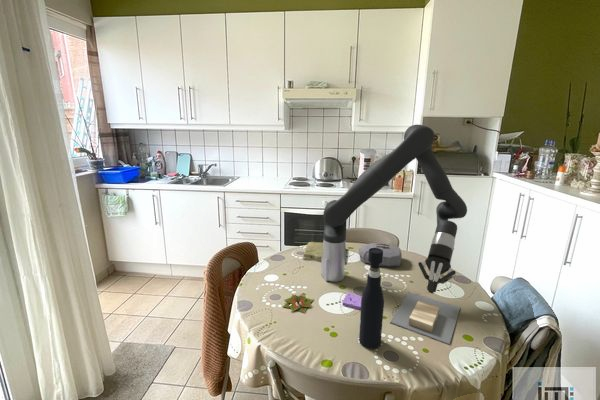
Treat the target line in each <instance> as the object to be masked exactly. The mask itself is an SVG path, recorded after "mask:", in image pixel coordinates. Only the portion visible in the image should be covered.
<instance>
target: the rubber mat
mask: <svg viewBox="0 0 600 400" xmlns="http://www.w3.org/2000/svg"><path fill="white" fill-rule="evenodd" d="M418 300H420V301H423V302H426V303H429V304H432V305H436V306H439V307H440V309H439V314H438V317H437V320H436V322H435V325H434V327H433V330H432V332H428V331H425V330H422V329H420V328H417V327H414V326H411V325H409V317H410V315H411V313H412V312H413V310H414V308H415V306H416V304H417V302H418ZM460 310H461V307H460V306H456V305H453V304H450V303H447V302H443V301H440V300H437V299H434V298H431V297H427V296H424V295H420V294H417V293H414V292H410V291H408V292H407V293H406V295H405V297H404V299H403V300H402V302H401V303H400V305H399V307H398V309H397V310H396V312H395V313H394V315H393V317H391V320H390V322H389V323H390V324H392V325H395V326H397V327H400V328H403V329H405V330H408V331H410V332H414V333H416V334H418V335H422V336H424V337H427V338H429V339H433V340H435V341H438V342H439V343H442V344H446V345H448V344H449V345H448V346H450V344H451V341H452V338H453V337H452V336H453V334H454V330H455V327H456V324H457V320H458V316H459V313H460Z"/></svg>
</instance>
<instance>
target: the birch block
mask: <svg viewBox="0 0 600 400" xmlns="http://www.w3.org/2000/svg"><path fill="white" fill-rule="evenodd" d="M439 309H440V307H439V306H436V305H432V304H429V303H426V302H423V301H420V300H418V302H417V304H416V306H415V308H414V310H413V312H412V313H411V315H410V317H409V325H411V326H414V327H417V328H420V329H422V330H425V331H428V332H432V330H433V327H434V325H435V322H436V320H437V317H438V314H439Z"/></svg>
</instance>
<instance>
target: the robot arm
mask: <svg viewBox="0 0 600 400" xmlns="http://www.w3.org/2000/svg"><path fill="white" fill-rule="evenodd" d="M435 137H436V134H435V132H434V130H433V129H432V128H430V127H429V126H427V125H423V124H413V125H410V126H409V127H408V128H406V129H405V131H404V135H403V140H402V141H401V142H400V143H399V145H398V146H397V147H396V148H394V149H393V150H392V151H391V152H389V153H388V154H386V155H383V156H382V157H381V158H379V159H378V160H376V161H374V162H373V163H372V164H371V165H369V167H367V168H366V169H365V170H364V171H363V172H362V173H361V174H360V175H359V176H358V177H357V178H356V180H355V181H354V182H353V183H352V185H351V186H350V187H349V189H348V190H347V192H346V193H344V195H342V196H341V197H340V198H338V199H334V200H331V201H329V202H327V204H325V207H324V211H323V214H322V215H323V216H322V217H323V222H324V223H323V226H324V227H323V238H322V239H323V241H322V243H323V254H322V258H321V262H320V263H321V264H320V265H321V271H320V272H321V276H322V279H323V280H324V281H325V282H335V283H336V282H337V283H338V282H340V281H341V282H342V281H344V278H345V275H346V274H345V272H346V270H345V268H346V266H345V265H346V251H345V245H346V242H347V241H346V240H347V220H348V219H349V218H350V217H351V215H352V214H353V213H354V212H355V211H356V210H357V209H358V208H359V207H361V205H363V204H364V203H366V202H367V201H368V200H369V199H371V198H372V197H373V196H374V195H375V194H377V193H378V192H379V191H380V190H381V189H383V188H384V187H385V186H386V185H387V184H388V183H389V182H390V181H391V180H393V179H394V178H395V177H396V176H397V175H398V174H399V173H400V172H401V171H402V170H403V169H404V168H406V166H407V165H409V164H410V163H411V162H412V161H414V160H415V159H416V161H417V163H418V165H419V166H420V168H421V170H422V172H423V175H424V177H425V179H426V181H427V183H428V186H429V188H430V190H431V192H432V194H433V196H434V198H435V199H436V200H441V202H439V203H438V205H437V206H436V208H435V209H436V213H435V214H436V227H435V228H436V229H435V232H434V235H433V237H432V240H431V244H430V248H429V251H428V255H427V258H426V259H425V260H424V261H422V262H418V267H419V269H420V272H421V274H422V275H423V277H424V279H425V280H427V281H428V283H427V286H426V289H427V292H428V293H430V294H434V293H436V292H437V289H438V285H439V284H442V285H443V284H445V283H447V282H448V281H449V280H451V279H453V278H454V277H456V275H457V272H456V270H453V268H452V265H451V262H452V257H453V253H454V250H455V243H456V242H455V241H456V236H457V231H458V224H456V223H455V222H454V221H451V219H452V220H453V219H454V220H455V219H462V218H463V219H464V217H465V216H467V212H468V207H467V205H466V202H465V201H464V199H463V198H462V197H461V196H460V195H459V194H458V193H457V192H456V190H455V189H454V188H453V185H452V184H451V182H450V180H449V177H448V175H447V173H446V171H445V170H444V169H443V167H442V165H441V164H440V163H439V161H438V159H437V157H436V155H435V153H434V151H433V148H432V145H433V144H434V142H435V139H436V138H435ZM346 246H347V245H346ZM426 267H427V269H428V271H429V275H428V272H427V271H426ZM446 273H447V274H446ZM444 274H445V275H444ZM443 275H444V276H443Z"/></svg>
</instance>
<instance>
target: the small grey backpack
mask: <svg viewBox="0 0 600 400" xmlns="http://www.w3.org/2000/svg"><path fill="white" fill-rule="evenodd" d="M370 248H379V249H381V250H383V259H382V263H381V264H380V266H379V267H388V268H389V267H391V268H392V267H395V268H396V267H397V268H398V267H400V265H401V263H402V255H403V254H402V250H401V247H400V246H396V245H393V244H392V245H391V244H386V243H382V242H371V243H367V244H364V245H362V246H361V247H360V248H359V250H358V255H359V259H360V261H361V262H363V263H365V264H370V262H369V261H368V255H369V249H370Z"/></svg>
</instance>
